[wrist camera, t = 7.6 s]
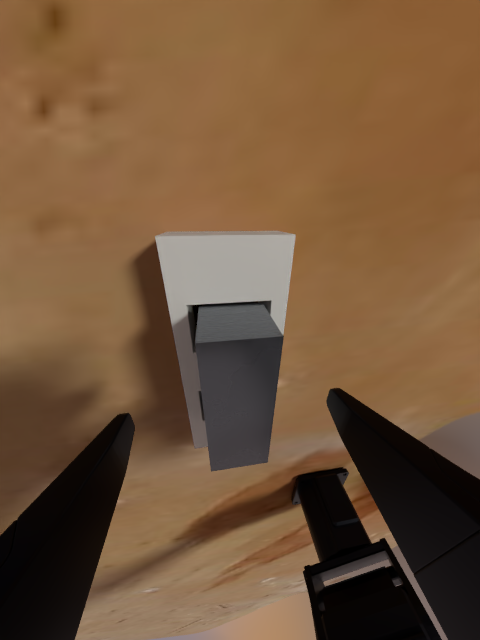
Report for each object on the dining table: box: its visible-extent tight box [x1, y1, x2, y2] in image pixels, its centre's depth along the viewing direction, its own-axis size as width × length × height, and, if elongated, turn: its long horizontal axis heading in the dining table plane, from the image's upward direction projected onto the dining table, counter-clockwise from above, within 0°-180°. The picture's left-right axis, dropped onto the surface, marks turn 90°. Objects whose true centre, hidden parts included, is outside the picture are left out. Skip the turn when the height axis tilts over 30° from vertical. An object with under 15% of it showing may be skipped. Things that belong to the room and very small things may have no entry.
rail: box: [155, 231, 295, 448], centre depth 12 cm, size 14×6×2 cm, turn 0°
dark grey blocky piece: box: [195, 301, 284, 471], centre depth 11 cm, size 8×3×5 cm, turn 0°
